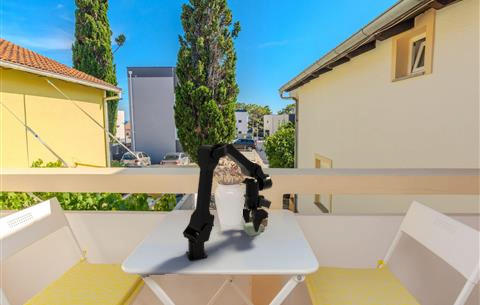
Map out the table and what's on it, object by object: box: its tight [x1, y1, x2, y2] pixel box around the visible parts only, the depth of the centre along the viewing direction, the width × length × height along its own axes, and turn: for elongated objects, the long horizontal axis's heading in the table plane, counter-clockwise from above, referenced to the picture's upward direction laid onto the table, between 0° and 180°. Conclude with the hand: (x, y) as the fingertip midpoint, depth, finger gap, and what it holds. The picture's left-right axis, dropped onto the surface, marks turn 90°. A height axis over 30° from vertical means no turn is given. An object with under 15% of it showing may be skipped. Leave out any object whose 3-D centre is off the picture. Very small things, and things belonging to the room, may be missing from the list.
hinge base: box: [249, 215, 269, 227], centre depth 134 cm, size 10×6×3 cm, turn 23°
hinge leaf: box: [242, 222, 266, 237], centre depth 124 cm, size 7×8×3 cm
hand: (251, 228), depth 123 cm, fingers open, 9 cm apart
